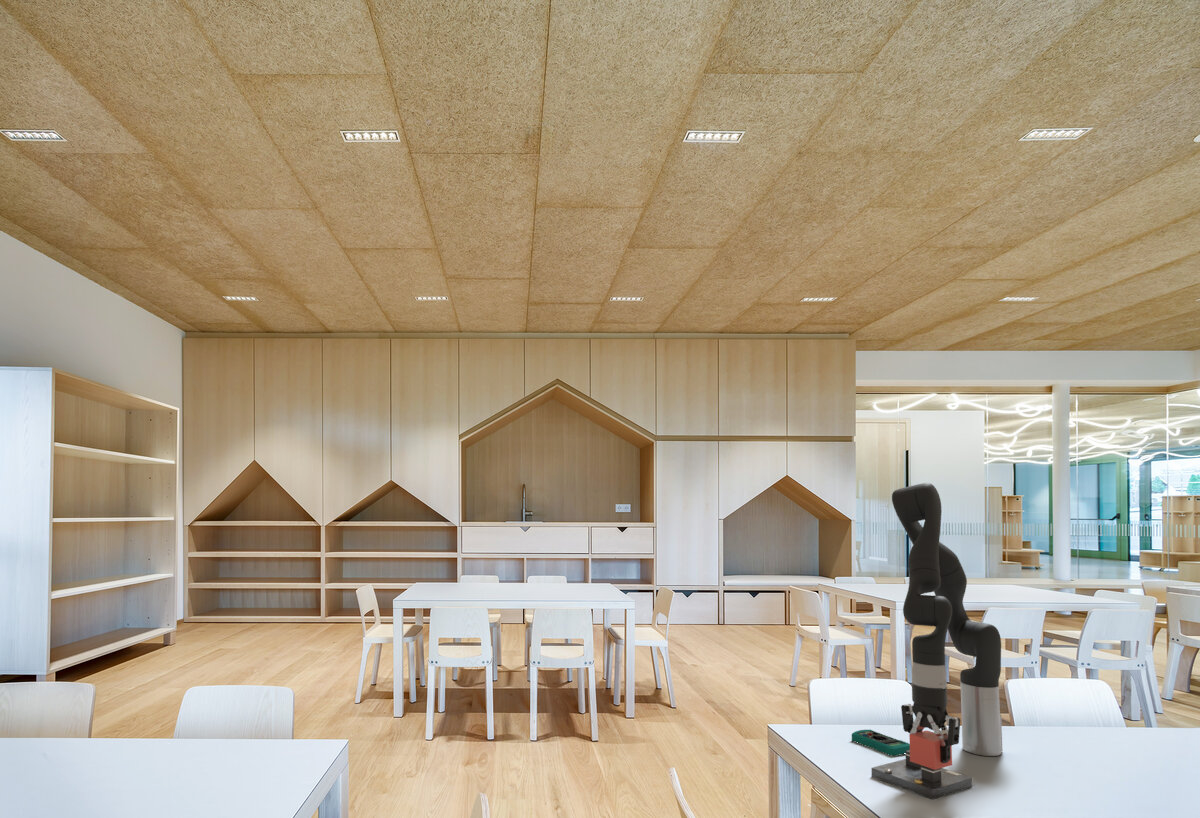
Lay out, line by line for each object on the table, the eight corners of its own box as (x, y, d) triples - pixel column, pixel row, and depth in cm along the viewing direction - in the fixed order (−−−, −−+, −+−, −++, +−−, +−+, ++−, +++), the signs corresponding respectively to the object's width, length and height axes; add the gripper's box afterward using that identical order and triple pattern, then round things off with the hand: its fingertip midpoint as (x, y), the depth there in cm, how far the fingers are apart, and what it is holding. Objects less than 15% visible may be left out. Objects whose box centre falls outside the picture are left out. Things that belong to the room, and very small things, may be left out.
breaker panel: (911, 765, 191) (910, 754, 191) (972, 786, 178) (971, 775, 178) (871, 776, 183) (871, 765, 183) (932, 799, 170) (931, 787, 170)
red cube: (927, 756, 181) (926, 730, 182) (952, 765, 176) (951, 737, 177) (910, 761, 178) (909, 734, 179) (934, 769, 173) (934, 741, 173)
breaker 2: (929, 775, 178) (929, 762, 179) (941, 780, 176) (941, 766, 176) (921, 778, 177) (920, 764, 177) (933, 782, 174) (933, 768, 174)
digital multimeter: (868, 738, 214) (868, 727, 215) (912, 754, 201) (912, 743, 201) (849, 741, 211) (849, 730, 211) (892, 758, 198) (892, 746, 198)
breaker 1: (913, 761, 188) (913, 749, 188) (924, 765, 185) (924, 752, 186) (905, 764, 186) (905, 751, 187) (916, 767, 184) (916, 754, 184)
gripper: (892, 677, 183) (893, 751, 181) (947, 691, 171) (949, 770, 169) (912, 674, 187) (913, 746, 185) (967, 687, 175) (969, 764, 173)
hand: (930, 757), depth 177 cm, fingers closed on red cube, 6 cm apart
